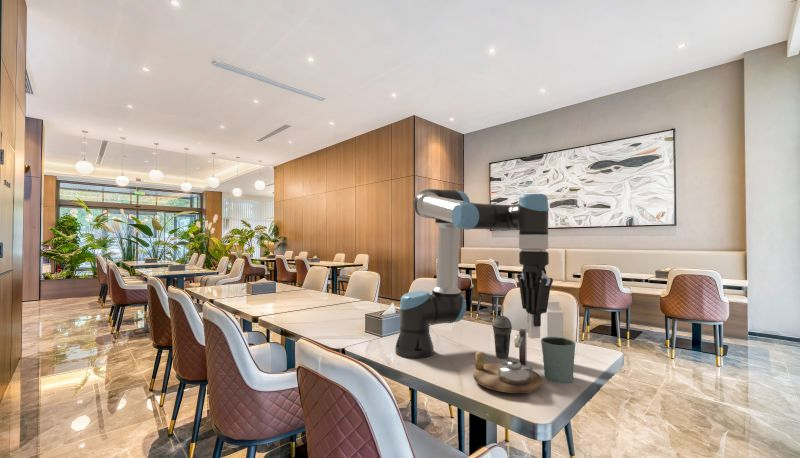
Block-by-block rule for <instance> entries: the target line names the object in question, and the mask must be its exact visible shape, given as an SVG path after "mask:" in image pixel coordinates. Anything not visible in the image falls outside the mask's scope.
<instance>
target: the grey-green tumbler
mask: <svg viewBox="0 0 800 458" xmlns="http://www.w3.org/2000/svg"><path fill="white" fill-rule="evenodd" d="M541 344H542V353H543V361H542V362H543V371H544V372H543V373H544V377H545V378H546V379H547V380H549V382H550V381H551V382H555V383H559V384H570V383H572V382H573V381H574V370H575V369H574V368H575V365H574V364H575V357H576V353H575V352H576V342H575V341H574V340H572V339H570V338H565V337H564V338H561V337H545V338H542V339H541Z"/></svg>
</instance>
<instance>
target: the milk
mask: <svg viewBox="0 0 800 458" xmlns="http://www.w3.org/2000/svg"><path fill="white" fill-rule="evenodd" d="M564 332H565V331H564V311H563V309H562V308H561V306H560V302H559V301H548V306H547V312H546V313H542V314H541V326H540V338H539V343H540V344H539V346H540V347H539V348H540V350H539V352H540V353H539V354H540V355H539V357H540V361H541V362H543V353H542V344H541V339H542V338H545V337H561V338H565V337H564Z"/></svg>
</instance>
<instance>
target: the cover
mask: <svg viewBox="0 0 800 458" xmlns="http://www.w3.org/2000/svg"><path fill="white" fill-rule="evenodd" d="M500 363H501V364H499V365H498V379H499V380H500V381H501V382H503V383H506V384H509V385H515V386H523V385H527V384H529V383H530V368H529V367H530V366H525V365H522V364H521V363H520V362H519V361H518V360H511V359H510V360H507V361H506V362H500Z"/></svg>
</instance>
